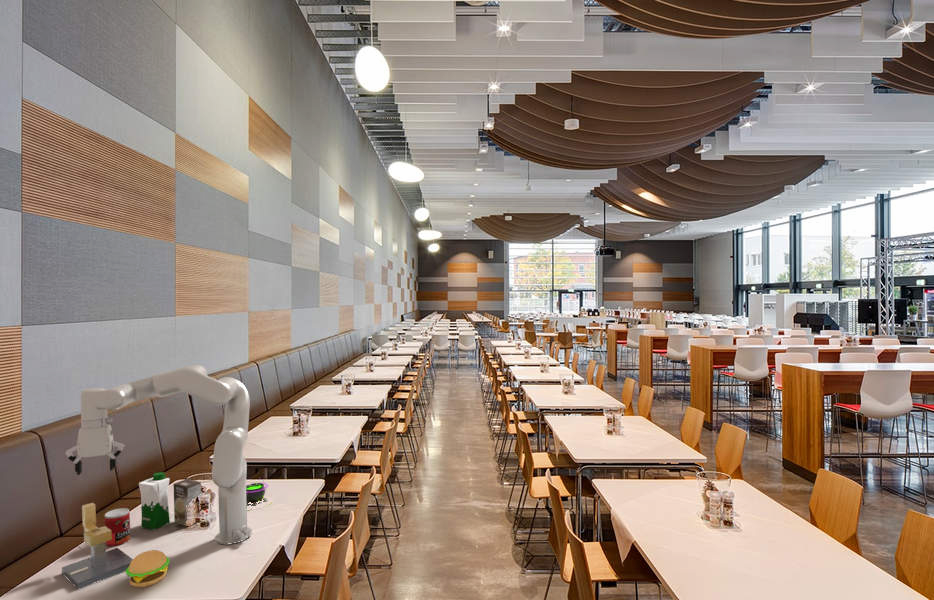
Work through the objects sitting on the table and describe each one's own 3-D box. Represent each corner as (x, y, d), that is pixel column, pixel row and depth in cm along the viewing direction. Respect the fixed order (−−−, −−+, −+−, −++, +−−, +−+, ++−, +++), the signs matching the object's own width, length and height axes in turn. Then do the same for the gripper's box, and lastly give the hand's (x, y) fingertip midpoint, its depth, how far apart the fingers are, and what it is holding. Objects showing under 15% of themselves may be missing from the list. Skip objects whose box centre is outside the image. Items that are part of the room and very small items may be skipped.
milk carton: (173, 522, 207) (172, 472, 206) (152, 532, 198) (150, 480, 198) (158, 518, 210) (156, 470, 210) (137, 528, 202) (135, 478, 201)
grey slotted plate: (135, 567, 173) (134, 540, 172) (77, 589, 160) (76, 561, 160) (117, 553, 182) (116, 528, 182) (61, 573, 170) (61, 546, 169)
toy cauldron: (280, 499, 227) (280, 475, 227) (253, 513, 214) (252, 487, 214) (256, 494, 234) (255, 470, 234) (228, 507, 220) (227, 482, 220)
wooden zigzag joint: (111, 539, 172) (110, 509, 171) (90, 546, 167) (89, 516, 167) (98, 529, 179) (97, 501, 179) (77, 536, 174) (76, 507, 174)
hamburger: (121, 581, 164) (120, 554, 164) (162, 565, 173) (161, 540, 173) (132, 595, 156) (131, 567, 156) (175, 578, 165) (174, 551, 165)
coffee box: (173, 523, 206) (172, 483, 206) (188, 516, 211) (187, 478, 211) (187, 527, 201) (186, 487, 201) (202, 521, 207) (201, 481, 207)
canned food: (118, 547, 187) (117, 517, 186) (99, 545, 188) (98, 516, 188) (135, 537, 194) (134, 508, 194) (117, 535, 196) (117, 507, 196)
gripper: (125, 418, 188) (127, 464, 189) (68, 423, 181) (69, 471, 182) (121, 423, 181) (122, 471, 182) (61, 428, 175) (62, 478, 175)
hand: (96, 471), depth 182 cm, fingers open, 9 cm apart
